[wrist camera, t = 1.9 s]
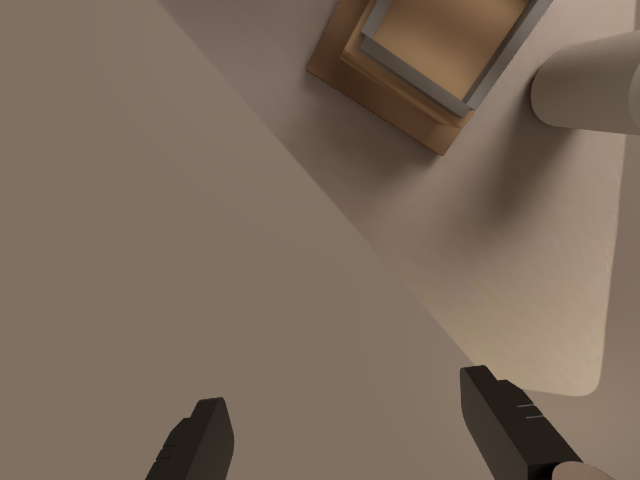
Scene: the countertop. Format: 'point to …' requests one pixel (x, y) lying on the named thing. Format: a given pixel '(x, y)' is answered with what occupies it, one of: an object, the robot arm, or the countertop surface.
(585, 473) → the robot arm
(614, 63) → the beverage can
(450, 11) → the plinth
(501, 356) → the countertop surface
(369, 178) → the countertop surface
